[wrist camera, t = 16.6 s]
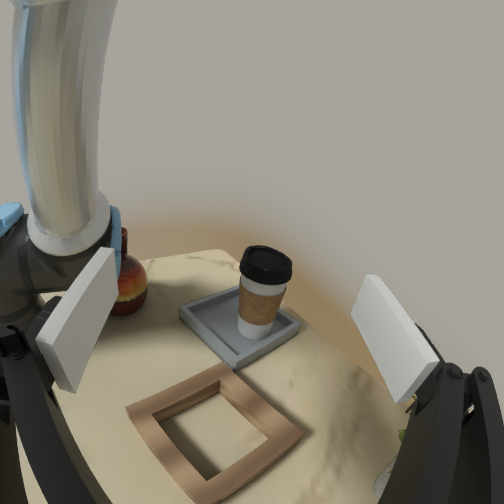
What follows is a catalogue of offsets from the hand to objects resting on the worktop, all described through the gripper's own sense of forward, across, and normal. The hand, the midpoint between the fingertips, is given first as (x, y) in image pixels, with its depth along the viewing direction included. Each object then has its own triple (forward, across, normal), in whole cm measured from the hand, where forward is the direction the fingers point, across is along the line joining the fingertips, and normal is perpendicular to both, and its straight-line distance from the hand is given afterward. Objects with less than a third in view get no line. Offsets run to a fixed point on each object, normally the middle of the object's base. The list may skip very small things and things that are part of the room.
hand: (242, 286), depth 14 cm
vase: (+31, -19, -28) cm, 46 cm away
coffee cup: (+26, +7, -27) cm, 38 cm away
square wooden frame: (+5, 0, -27) cm, 28 cm away
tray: (+28, +5, -28) cm, 39 cm away
